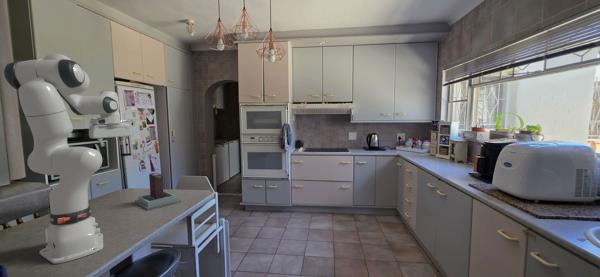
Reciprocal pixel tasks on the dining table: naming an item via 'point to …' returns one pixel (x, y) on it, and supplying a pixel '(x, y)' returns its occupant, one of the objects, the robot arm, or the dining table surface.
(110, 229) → the dining table surface
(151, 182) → the supplement box
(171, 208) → the dining table surface
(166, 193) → the tray
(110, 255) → the dining table surface
